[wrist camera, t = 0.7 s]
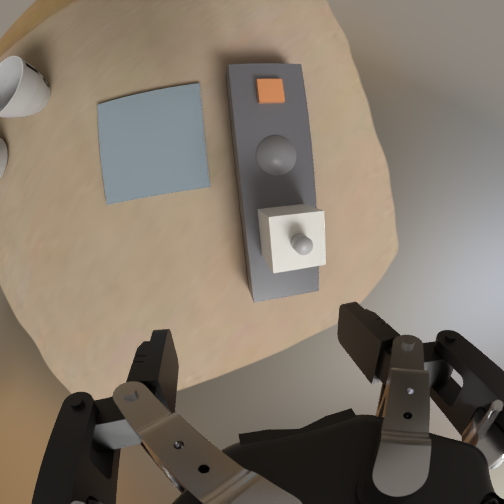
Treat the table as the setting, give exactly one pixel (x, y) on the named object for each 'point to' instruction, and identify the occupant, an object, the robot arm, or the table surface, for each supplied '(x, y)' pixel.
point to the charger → (292, 237)
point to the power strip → (271, 163)
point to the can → (3, 156)
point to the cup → (21, 89)
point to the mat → (153, 143)
